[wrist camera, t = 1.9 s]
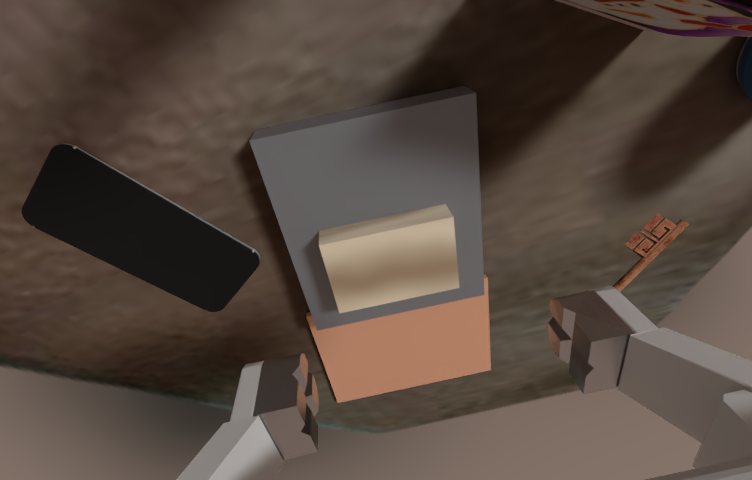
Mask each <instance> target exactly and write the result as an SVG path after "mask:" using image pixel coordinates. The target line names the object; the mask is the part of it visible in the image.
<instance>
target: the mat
mask: <svg viewBox="0 0 752 480" xmlns="http://www.w3.org/2000/svg"><path fill="white" fill-rule="evenodd" d="M306 318H307V321H308V323H309V326H310V329H311V331H312V334H313V337H314V340H315V342H316V345H317V348H318V350H319V353H320V356H321V359H322V361H323V364H324V367H325V369H326V372H327V375H328V378H329V380H330V383H331V386H332V389H333V391H334V394H335V397H336V399H337V402H338V403H340V402H345V401H349V400H354V399H359V398H363V397H368V396H373V395H377V394H382V393H386V392H391V391H396V390H400V389H405V388H410V387H414V386H419V385H424V384H428V383H433V382H438V381H442V380H447V379H452V378H456V377H461V376H465V375H470V374H475V373H479V372H484V371H489V370H491V360H490V331H489V302H488V278H487V276H486V274H485V275H484V295H481V296H477V297H472V298H467V299H463V300H458V301H453V302H449V303H444V304H439V305H435V306H430V307H425V308H421V309H416V310H411V311H407V312H402V313H397V314H393V315H388V316H383V317H379V318H374V319H369V320H365V321H360V322H355V323H351V324H346V325H341V326H337V327H332V328H327V329H323V330H318V331H317V329H316V326H315V324H314V321H313V318H312V315H311V312H308V313H306Z"/></svg>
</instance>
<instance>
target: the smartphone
mask: <svg viewBox="0 0 752 480" xmlns="http://www.w3.org/2000/svg"><path fill="white" fill-rule="evenodd" d="M22 215H23V217H24V219H25V220H26V221H27V222H28V223H29V224H30V225H32V226H33V227H35V228H37V229H39V230H41V231H43V232H46V233H48V234H50V235H52V236H54V237H56V238H58V239H60V240H62V241H64V242H66V243H68V244H70V245H72V246H74V247H77V248H79V249H81V250H83V251H85V252H87V253H89V254H91V255H93V256H95V257H97V258H99V259H101V260H103V261H105V262H107V263H110V264H112V265H114V266H116V267H118V268H120V269H122V270H124V271H126V272H128V273H130V274H132V275H134V276H136V277H138V278H141V279H143V280H145V281H147V282H149V283H151V284H153V285H155V286H157V287H159V288H161V289H163V290H165V291H167V292H169V293H171V294H174V295H176V296H178V297H180V298H182V299H184V300H186V301H188V302H190V303H192V304H194V305H196V306H198V307H200V308H202V309H205V310H207V311H210V312H217V311H220V310H222V309H223V308H224V307H225V306H226V305H227V304H228V303H229V301H230V300H231V299H232V298H233V296H234V295H235V294H236V293H237V292H238V290H239V289H240V288H241V287H242V285H243V284H244V283H245V282H246V281H247V279H248V278H249V277H250V276H251V275H252V273H253V272H254V271H255V270H256V268H257V267H258V266H259V263H260V255H259V253H258V252H257V251H256V250H255V249H253V248H252V247H250V246H248V245H246V244H245V243H243V242H241V241H239V240H237V238H235V237H232V236H231V235H229V234H227V233H226V232H224V231H223V230H221V229H220V228H218V227H216V226H215V225H212V224H210V223H208V222H207V221H206V220H204V219H202V218H201V217H199V216H197V215H196V214H193V213H191V212H189V211H188V210H186V209H184V208H182V207H181V206H179V205H177V204H175V203H174V202H172V201H170V200H168V199H167V198H165V197H163V196H162V195H160V194H158V193H156V192H155V191H153V190H151V189H149V188H148V187H146V186H144V185H143V184H141V183H139V182H137V181H136V180H134V179H132V178H130V177H129V176H127V175H125V174H123V173H122V172H120V171H118V170H117V169H115V168H113V167H111V166H110V165H108V164H106V163H104V162H103V161H101V160H99V159H98V158H96V157H94V156H92V155H91V154H89V153H87V152H85V151H84V150H82V149H80V148H79V147H77V146H75V145H72V144H67V143H62V144H58V145H56V146H54V147H53V148H52V149H51V151H50V153H49V155H48V157H47V159H46V161H45V163H44V165H43V167H42V169H41V171H40V173H39V175H38V177H37V179H36V181H35V183H34V185H33V187H32V189H31V191H30V193H29V195H28V197H27V199H26V201H25V203H24V205H23V208H22Z"/></svg>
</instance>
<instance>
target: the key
mask: <svg viewBox="0 0 752 480" xmlns="http://www.w3.org/2000/svg"><path fill="white" fill-rule="evenodd" d="M663 218H664V217H663V216H661V215H660V214H657V215H656V216H655V217H654V218H653V219H652V220H650V221H649V222H648V223H647V224H646V225H645V226H644V227H643V228H644V229H646V230H648V231H649V232H650V231H651V230H652V229H653V228H654V227H655V226H656V225H657V224H658V223H659V222H660V221H661V220H662V219H663ZM688 225H689V224H688V223H686V222H685V221H683V220H680V221H679V222H678V223H677V224H676V225H675V224H673V223H672V222H670V221H669V220H667V219H666V218H665V219H664V220H663V221H662V222H661V223H660V224H659V225H658V226H657V227H656V228H655V229H654V230H653V231H652V232H651V233H652V234H654V235H656V236H657V237H659V239H658V240H657V239H655V238H653V237H652V236H650V235H649V234H647V233H645V232H644V231H642V230H641V229H640V230H639V231H640V232H641V233H643V234H645V235H646V236H648V237H649V238H651V239H653V240H654V241H656V242H655V243H652V242H651V241H649V240H647V239H646V238H645V239H644V240H643V241H642V242H641V243H640V244H639V245H638V246H637V247H636V248H635V249H634V251H636V252H637V253H639V254H641V255H642V256H643V257H642V258H641V259H640V260H639V261H638V262H637V263H636V264H635V265H634V266H633V267H632V268H631V269H630V270H629V271H628V272H627V273H626V274H625V275H624V276H623V277H622V278H621V279H620V280H619V281H618V282H617V283H616V284H615V285H614V286H613V287H614V288H616V289H617V290H618V291H619V292H620V291H622V290H623V289H624V288H625V287H626V286H627V285H628V284H629V283H630V282H631V281H632V280H633V279H634V278H635V277H636V276H637V275H638V274H639V273H640V272H641V271H642V270H643V269H644V268H645V267H646V266H647V265H648V264H649V263H650V262H651V261H652V260H653V259H654V258H655V257H656V256H657V255H658V254H659V253H660V252H661V251H662V250H663V249H664V248H665V247H666V246H667V245H668V244H670V243H671V242H672V241H673V240H674V239H675V238H676V237H677V236H678V235H679V234H680V233H681V232H682V231H683V230H684V229H685V228H686V227H687V226H688ZM664 227H667V228H669V230H667V231H666V230H665V229H663V228H664ZM643 238H644V237H642V236H641V235H639V234H638V233H636V234H635V235H634V236H633V237H632V238H630V239H629V240H630V241H631V242H630V243H628V242H626V243H625V244H624V245H626V246H627V247H629V248H631V249H633V248H634V247H635V246H636V245H637V244H638V243H639V242H640V241H641V240H642V239H643ZM642 249H645V250H646V252H643V251H641V250H642Z"/></svg>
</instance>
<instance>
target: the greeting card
mask: <svg viewBox="0 0 752 480" xmlns="http://www.w3.org/2000/svg"><path fill="white" fill-rule="evenodd" d="M555 1H558V2H561V3H564V4H567V5H570V6H573V7H576V8H579V9H582V10H585V11H588V12H591V13H594V14H597V15H600V16H603V17H606V18H609V19H612V20H615V21H618V22H621V23H624V24H627V25H630V26H633V27H636V28H639V29H642V30H647V31H658V32H662V33H667V34H672V35H680V36H694V37H715V36H743V37H752V0H555Z"/></svg>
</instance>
